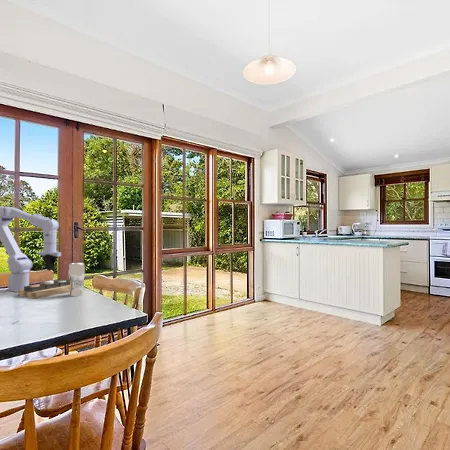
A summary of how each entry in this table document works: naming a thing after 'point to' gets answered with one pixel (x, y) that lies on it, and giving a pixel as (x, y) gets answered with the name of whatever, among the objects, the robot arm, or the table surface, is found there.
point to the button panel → (45, 289)
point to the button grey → (48, 282)
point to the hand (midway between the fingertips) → (49, 270)
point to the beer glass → (76, 278)
